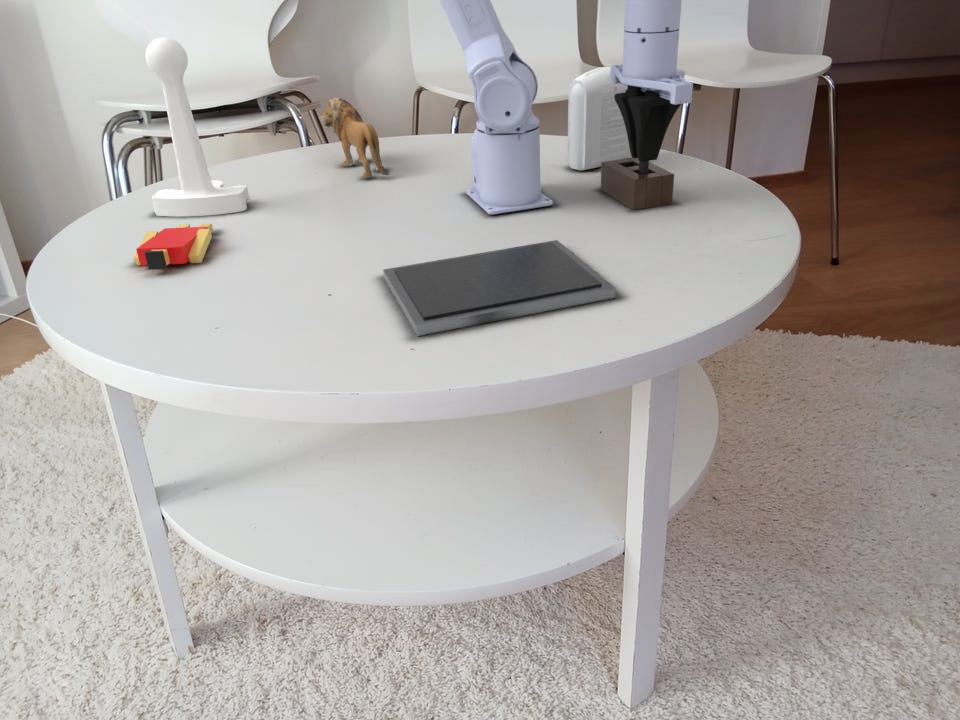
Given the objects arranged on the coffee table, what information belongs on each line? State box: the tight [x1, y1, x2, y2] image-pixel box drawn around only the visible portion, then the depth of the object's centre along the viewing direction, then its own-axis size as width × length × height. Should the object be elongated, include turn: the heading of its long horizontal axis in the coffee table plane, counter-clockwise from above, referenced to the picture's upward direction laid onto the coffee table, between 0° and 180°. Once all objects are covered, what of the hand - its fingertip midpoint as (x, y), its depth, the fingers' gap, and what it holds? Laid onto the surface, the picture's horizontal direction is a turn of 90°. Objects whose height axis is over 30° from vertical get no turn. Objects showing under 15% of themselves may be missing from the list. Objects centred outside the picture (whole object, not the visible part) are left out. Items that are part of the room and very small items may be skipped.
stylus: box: [639, 161, 650, 175], centre depth 89 cm, size 1×1×8 cm
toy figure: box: [133, 222, 214, 270], centre depth 83 cm, size 2×7×12 cm
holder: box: [600, 158, 675, 211], centre depth 91 cm, size 5×8×4 cm, turn 18°
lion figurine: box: [318, 97, 390, 180], centre depth 107 cm, size 15×5×9 cm, turn 37°
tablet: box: [382, 239, 616, 337], centre depth 71 cm, size 13×18×1 cm
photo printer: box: [567, 66, 632, 171], centre depth 102 cm, size 10×4×12 cm, turn 123°
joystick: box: [144, 36, 251, 218], centre depth 93 cm, size 11×8×20 cm
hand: (644, 158), depth 88 cm, fingers closed on stylus, 1 cm apart
